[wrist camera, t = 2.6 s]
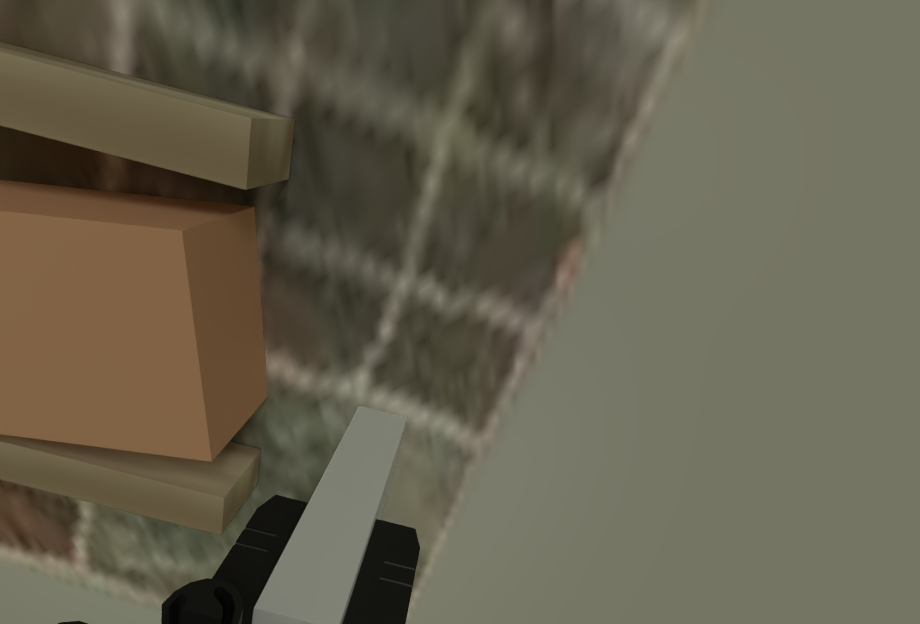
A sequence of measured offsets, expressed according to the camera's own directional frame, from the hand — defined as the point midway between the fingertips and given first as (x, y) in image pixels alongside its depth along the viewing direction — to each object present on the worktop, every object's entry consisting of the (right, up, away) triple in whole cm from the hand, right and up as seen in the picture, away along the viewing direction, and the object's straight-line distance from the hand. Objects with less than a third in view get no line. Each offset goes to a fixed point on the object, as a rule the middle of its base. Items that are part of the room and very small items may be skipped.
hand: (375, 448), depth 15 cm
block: (-10, +5, +4) cm, 12 cm away
